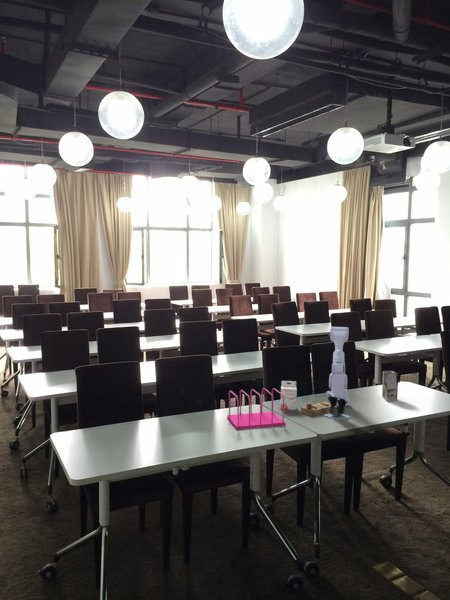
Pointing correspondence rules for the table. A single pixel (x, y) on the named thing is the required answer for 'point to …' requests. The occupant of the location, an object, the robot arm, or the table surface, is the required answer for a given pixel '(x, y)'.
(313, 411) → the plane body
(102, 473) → the table surface
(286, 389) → the ink cartridge box
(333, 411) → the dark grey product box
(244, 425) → the file sorter
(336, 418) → the rubber mat
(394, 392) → the coffee box
